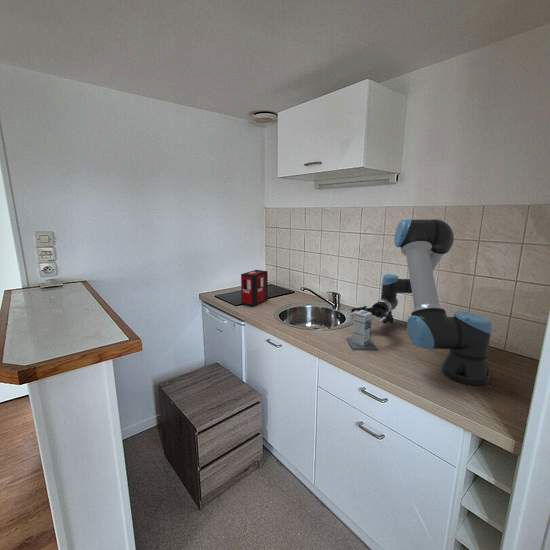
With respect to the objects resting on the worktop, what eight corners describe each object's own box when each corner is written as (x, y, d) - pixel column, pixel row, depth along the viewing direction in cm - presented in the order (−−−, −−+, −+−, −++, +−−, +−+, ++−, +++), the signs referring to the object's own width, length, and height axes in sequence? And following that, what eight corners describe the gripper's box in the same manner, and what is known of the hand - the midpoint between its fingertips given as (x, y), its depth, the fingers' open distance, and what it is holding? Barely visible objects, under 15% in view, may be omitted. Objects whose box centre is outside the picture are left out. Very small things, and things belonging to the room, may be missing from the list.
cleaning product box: (256, 298, 208) (256, 269, 204) (267, 300, 204) (267, 271, 200) (241, 304, 195) (241, 274, 190) (253, 307, 190) (252, 275, 186)
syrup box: (363, 346, 135) (365, 315, 132) (351, 342, 139) (353, 312, 136) (370, 343, 138) (372, 312, 135) (359, 338, 143) (361, 309, 140)
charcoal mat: (377, 349, 134) (377, 348, 133) (352, 350, 133) (352, 348, 133) (369, 339, 144) (369, 337, 144) (346, 339, 144) (346, 337, 144)
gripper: (406, 321, 149) (391, 334, 132) (357, 310, 164) (339, 321, 148) (407, 306, 147) (393, 318, 131) (358, 296, 162) (340, 306, 146)
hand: (364, 320), depth 139 cm, fingers open, 13 cm apart
